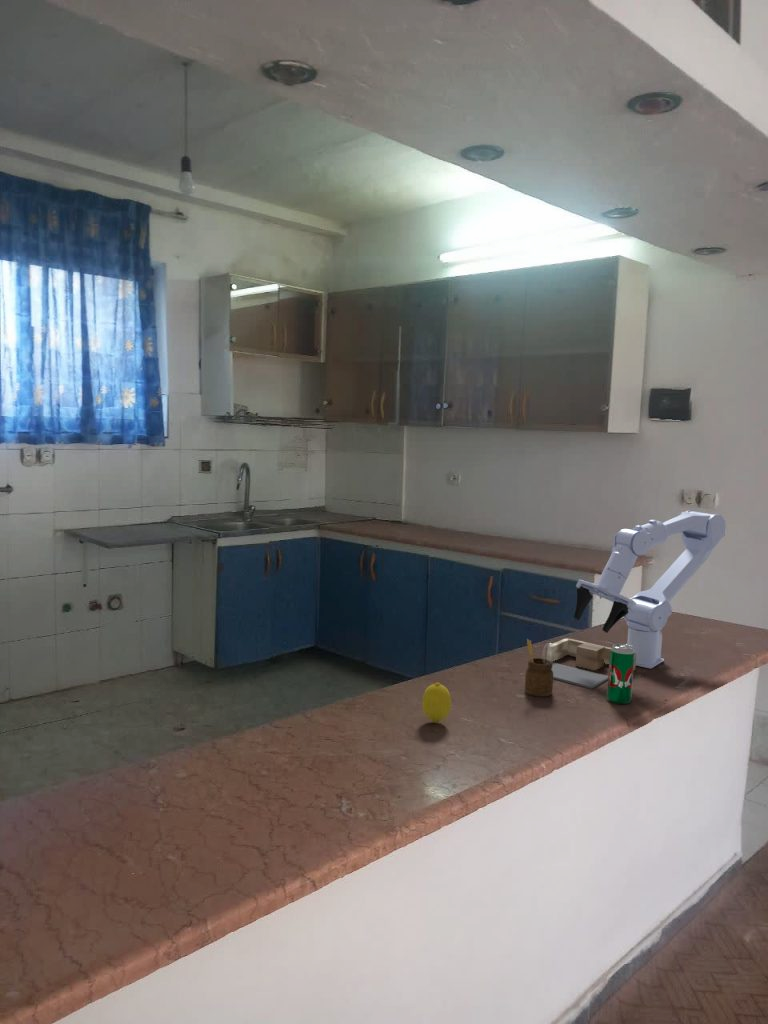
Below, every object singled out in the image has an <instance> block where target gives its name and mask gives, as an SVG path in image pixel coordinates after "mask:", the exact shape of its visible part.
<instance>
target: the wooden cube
mask: <svg viewBox="0 0 768 1024" xmlns="http://www.w3.org/2000/svg"><path fill="white" fill-rule="evenodd" d="M590 643H591V642H587V643H584V644H581V645H579V646H577V653H576V657H575V667H577V666H578V667H579V668H581V667H583V668H582V669H585V668H588V669H587V670H589V669H591V670H590V671H593V670H596V671H598V670H599V669H601V668H603V667H605V666H604V665H605V664H604V654H605V647H606V646H605V647H604V645H600V644H596V645H595V643H591V644H590ZM599 645H600V646H599ZM578 667H577V668H578ZM600 667H601V668H600ZM597 669H598V670H597Z"/></svg>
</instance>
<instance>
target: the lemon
mask: <svg viewBox="0 0 768 1024" xmlns="http://www.w3.org/2000/svg"><path fill="white" fill-rule="evenodd" d="M421 703H422V704H421V705H422V707H421V708H422V711H423V713H424V715H425V717H427V718H428V719H429V720H431V721H432V722H433V723H434V724H437V723H438V722H439V721H443V720H444V719H445V718H447V717H448V715H449V714H450V711H451V707H452V699H451V694H450V691H449V690H448V688H447V687H446V686H445V685H443V684H441V683H440V682H435V683H433V684H431V685H429V686H428V687H427V688H425V691H424V692H423V696H422V701H421Z"/></svg>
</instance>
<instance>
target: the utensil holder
mask: <svg viewBox="0 0 768 1024" xmlns="http://www.w3.org/2000/svg"><path fill="white" fill-rule="evenodd" d="M526 643H527V650H528V653H529V655H530V658H529V660H528V661H527V666H528V667H527V668H526V670H525V678H524V679H525V683H524V691H525V692H526V694H528V695H530V696H534V697H539V698H540V697H542V698H543V697H544V698H545V697H549V696H551V695H552V694H553V685H554V679H553V671H552V662H551V661H550V660H547V659H548V658H547V654H546V655H544V654H545V652H546V651H547V652H548V650H546V648H547V649H548V648H549V647H548V646H549V645H553V643H551V642H550V643H546V644H545V645H544V646H545V647H543V650H544V651H542V657H540V658H539V657H534V656H533V655H534V650H533V646H532V645H533V644H532V640H530V639H528V638H527V639H526ZM550 647H551V646H550ZM553 649H554V645H553ZM549 651H550V650H549ZM547 652H546V653H547ZM551 653H552V651H551ZM552 654H554V653H552ZM545 656H546V657H545ZM551 657H553V656H551ZM549 659H552V658H549Z"/></svg>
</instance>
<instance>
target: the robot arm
mask: <svg viewBox="0 0 768 1024" xmlns="http://www.w3.org/2000/svg"><path fill="white" fill-rule="evenodd" d="M679 533H680V534H681V539H682V545H684V546H685V549H684V551H682V553H681V554H680V555H679V556H678V557H677V559H676V560H675V561H674V562H673V563H672V564H671V565H670V566H669V568H668V569H667V570H666V571H665V572H663V574H662V575H661V576H660V577H659V579H658V580H657V581H656V582H655V583H654V584H653V585H652V586H651V588H649V589H646V590H642V591H639V592H637V593H636V594H635V595H634V596H632V597H629V598H628V597H626V596H624V595H622V594H621V592H622V589H623V588H624V586H625V584H626V582H627V580H628V578H629V576H630V574H631V573H632V569H633V567H634V566H635V563H636V561H637V560H638V557H639V556H644V555H645V554H647V552H648V551H649V549H651V548H652V547H656V546H658V545H661V544H664V543H666V541H667V540H668V536H672V535H676V534H679ZM725 535H726V520H725V517H724V516H723V515H722V514H718V513H716V514H713V513H706V512H700V511H695V510H686V511H682V512H681V513H680V514H679V515H676V516H675V517H673V518H670V519H668V520H665V521H664V522H662V521H659V520H657V519H649V520H648V523H645V524H643V525H638V524H637V525H635V526H634V527H633V528H632V529H631V528H630V529H629V528H623V529H620V531H618V532H617V533H615V534H614V536H613V542H612V543H613V546H612V548H611V552H610V553H611V554H610V557H609V558H608V561H607V562H606V565H605V566H604V568H603V570H602V573H601V574H600V577H599V578H598V581H597V582H596V583H592V582H590V581H585V580H583V579H580V578H579V579H578V581H577V582H576V585H575V587H576V606H575V611H574V614H573V619H575V620H577V621H580V619H581V618H582V615H583V614H584V612H585V609H586V608H587V606H588V604H589V603H590V601H591V600H592V599H593V595H595V596H598V597H600V598H602V599H605V600H608V601H609V602H612V607H611V608H610V612H609V615H608V617H607V620H606V621H605V623H604V624H603V627H602V628H601V629H602V631H603V632H604V633H606V634H608V633H609V632H610V630H611V629H612V628H613V626H615V625H616V623H617V622H618V621H620V620H621V619H622V618H624V620H625V621H626V625H627V626H628V632H627V642H626V644H627V645H630V646H633V648H634V649H633V650H634V652H635V653H636V666H638V667H640V668H641V667H642V668H646V669H650V670H651V669H653V668H655V667H657V665H660V664H662V663H663V662H664V661H665V658H663V657H661V656H662V644H663V633H662V629H663V628H664V627H665V626H666V624H667V621H668V619H669V617H670V615H672V614H673V609H672V605H671V601H672V600H673V598H675V596H676V595H677V594H679V592H680V591H681V589H682V588H684V586H685V585H686V584H687V582H689V580H690V579H691V578H692V577H693V576H694V575H695V574H696V572H698V570H699V569H700V568H701V567H702V565H703V564H704V563H705V562H706V561H707V560H708V558H709V557H710V555H711V553H712V551H713V550H714V549H715V547H716V546H717V545H718V544H719V542H721V541H722V540H723V538H724V537H725ZM592 594H593V595H592Z"/></svg>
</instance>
